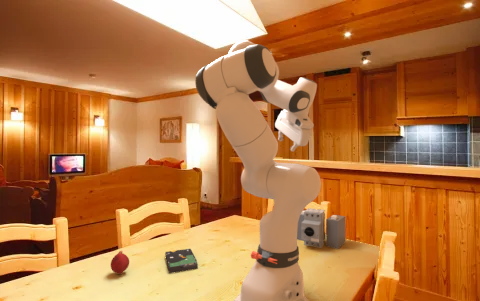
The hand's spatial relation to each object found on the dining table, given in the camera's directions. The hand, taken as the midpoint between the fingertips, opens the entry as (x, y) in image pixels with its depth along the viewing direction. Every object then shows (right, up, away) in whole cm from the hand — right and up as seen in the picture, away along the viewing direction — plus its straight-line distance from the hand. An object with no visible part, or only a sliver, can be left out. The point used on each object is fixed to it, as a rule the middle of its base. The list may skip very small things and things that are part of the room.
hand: (285, 145), depth 116 cm
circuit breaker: (+12, -45, 0) cm, 47 cm away
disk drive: (-43, -46, -17) cm, 65 cm away
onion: (-62, -45, -26) cm, 81 cm away
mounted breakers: (+17, -45, +6) cm, 48 cm away
